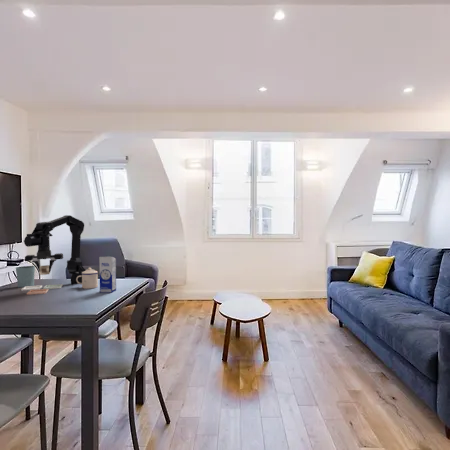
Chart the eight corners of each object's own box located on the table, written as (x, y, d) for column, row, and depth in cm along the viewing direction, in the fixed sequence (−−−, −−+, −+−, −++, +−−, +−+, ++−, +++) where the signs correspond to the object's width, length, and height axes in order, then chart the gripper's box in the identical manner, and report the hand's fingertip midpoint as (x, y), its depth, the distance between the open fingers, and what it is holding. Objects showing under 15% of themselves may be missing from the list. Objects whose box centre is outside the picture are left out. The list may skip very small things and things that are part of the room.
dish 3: (62, 286, 207) (62, 284, 207) (60, 289, 199) (60, 286, 199) (46, 287, 205) (46, 285, 205) (43, 290, 196) (43, 287, 196)
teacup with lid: (98, 285, 210) (97, 266, 210) (98, 288, 202) (98, 268, 201) (76, 286, 206) (76, 267, 206) (76, 289, 197) (75, 269, 197)
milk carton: (99, 292, 189) (99, 256, 189) (104, 290, 196) (103, 255, 195) (112, 292, 189) (111, 256, 188) (116, 290, 195) (116, 255, 195)
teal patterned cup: (28, 288, 203) (28, 267, 203) (12, 288, 203) (11, 268, 203) (38, 284, 213) (38, 265, 213) (22, 285, 213) (22, 265, 213)
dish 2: (48, 291, 193) (48, 288, 193) (45, 294, 185) (45, 292, 185) (30, 292, 191) (30, 289, 191) (26, 295, 182) (26, 293, 182)
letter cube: (50, 273, 197) (49, 265, 196) (48, 274, 192) (48, 266, 192) (41, 273, 195) (41, 265, 195) (39, 274, 191) (39, 266, 191)
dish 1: (42, 287, 204) (42, 285, 204) (39, 290, 196) (39, 288, 195) (25, 288, 201) (25, 286, 201) (21, 291, 193) (21, 289, 193)
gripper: (21, 247, 183) (22, 276, 183) (60, 245, 188) (61, 273, 189) (26, 245, 193) (27, 272, 194) (62, 243, 199) (63, 270, 200)
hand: (45, 272), depth 194 cm, fingers closed on letter cube, 4 cm apart
